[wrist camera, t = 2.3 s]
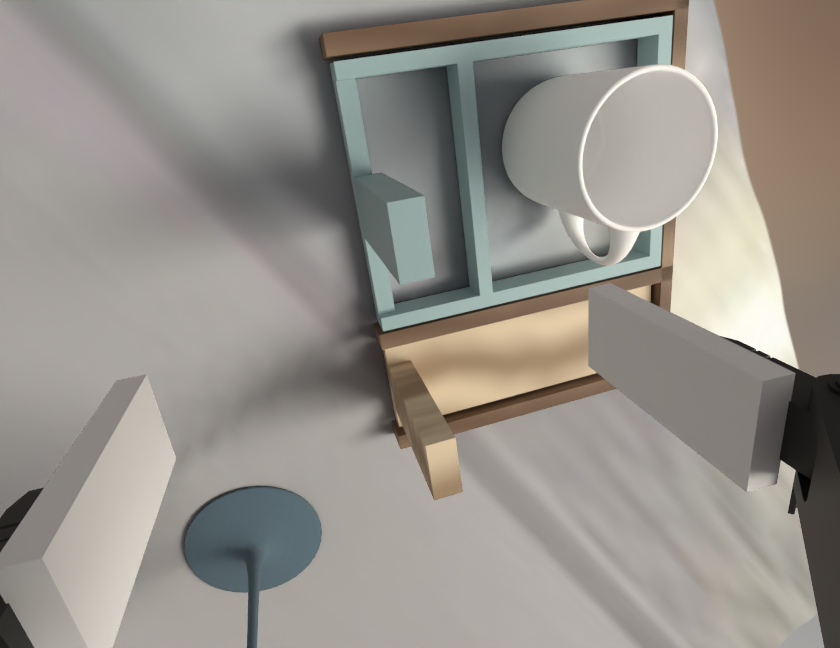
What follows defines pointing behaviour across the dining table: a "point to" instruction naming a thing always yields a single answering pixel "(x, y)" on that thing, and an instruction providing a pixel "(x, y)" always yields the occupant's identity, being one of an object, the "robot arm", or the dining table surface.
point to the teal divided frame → (466, 178)
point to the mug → (613, 149)
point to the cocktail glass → (253, 543)
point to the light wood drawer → (481, 377)
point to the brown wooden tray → (596, 6)
